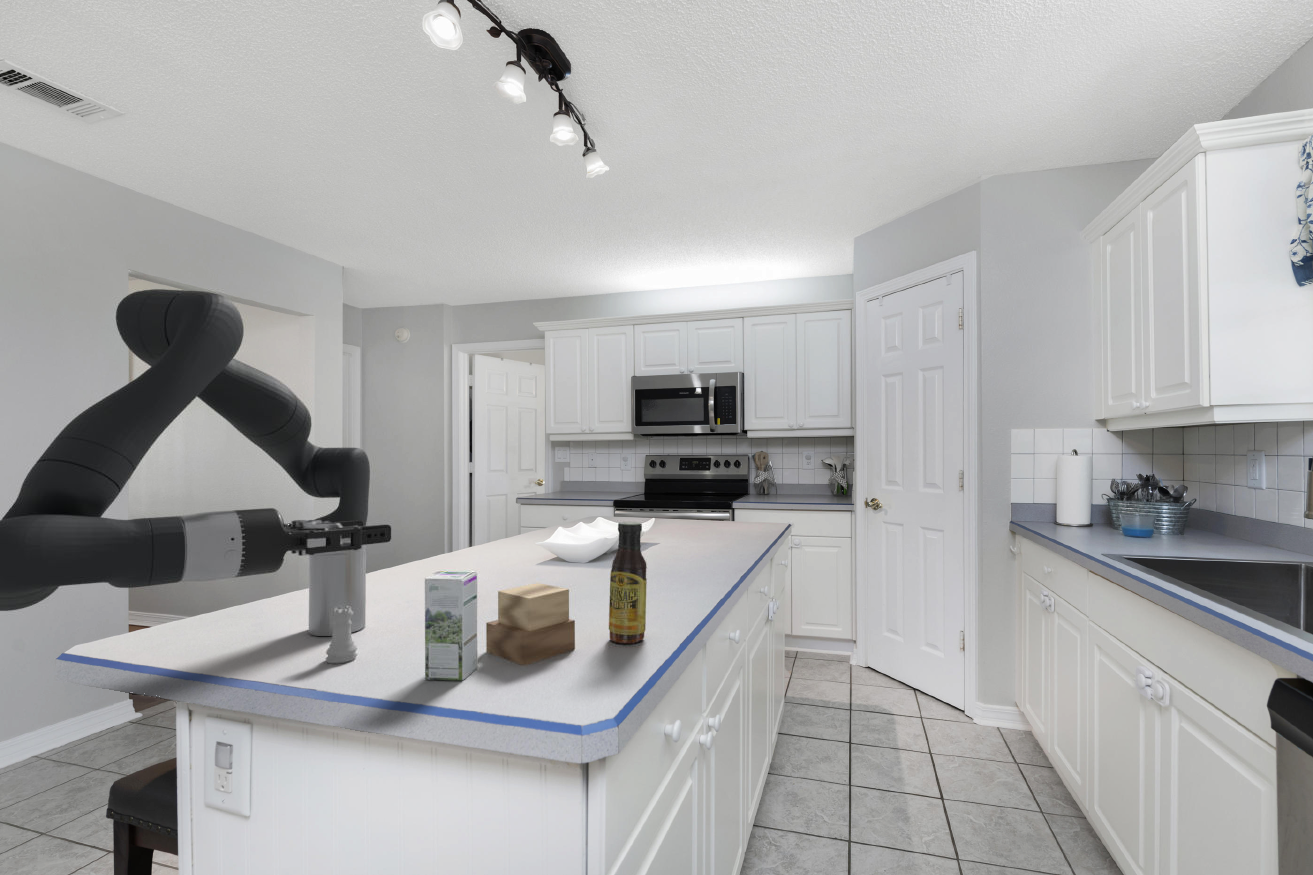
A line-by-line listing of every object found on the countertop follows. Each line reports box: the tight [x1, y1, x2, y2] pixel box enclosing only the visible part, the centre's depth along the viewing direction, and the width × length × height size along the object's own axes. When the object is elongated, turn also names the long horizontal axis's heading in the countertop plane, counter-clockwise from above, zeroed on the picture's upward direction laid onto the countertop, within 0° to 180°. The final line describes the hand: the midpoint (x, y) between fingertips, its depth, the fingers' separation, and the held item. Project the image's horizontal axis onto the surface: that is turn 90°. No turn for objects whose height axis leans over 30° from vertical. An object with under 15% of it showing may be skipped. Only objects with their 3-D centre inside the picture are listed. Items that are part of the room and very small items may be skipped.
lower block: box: [485, 618, 576, 667], centre depth 98 cm, size 10×10×5 cm
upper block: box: [497, 582, 570, 631], centre depth 98 cm, size 8×8×5 cm
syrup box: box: [424, 570, 479, 681], centre depth 88 cm, size 6×6×14 cm
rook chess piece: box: [325, 606, 358, 665], centre depth 95 cm, size 4×4×8 cm
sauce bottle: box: [608, 521, 648, 645], centre depth 104 cm, size 7×6×20 cm
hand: (375, 530), depth 80 cm, fingers open, 8 cm apart
